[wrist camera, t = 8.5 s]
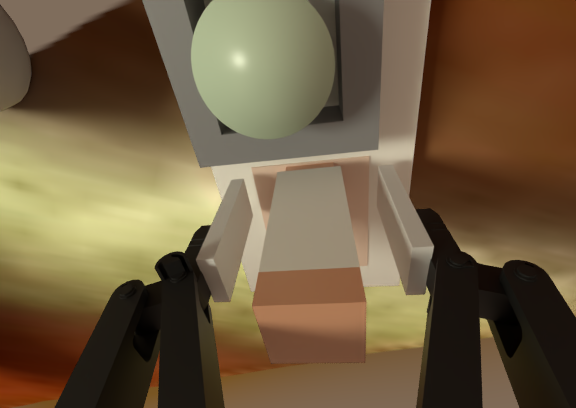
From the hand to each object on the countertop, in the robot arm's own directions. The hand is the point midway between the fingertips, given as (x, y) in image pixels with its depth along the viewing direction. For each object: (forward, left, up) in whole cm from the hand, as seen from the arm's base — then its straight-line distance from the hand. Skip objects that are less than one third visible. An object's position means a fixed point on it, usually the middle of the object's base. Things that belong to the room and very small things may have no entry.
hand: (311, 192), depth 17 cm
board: (0, +1, -2) cm, 2 cm away
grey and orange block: (0, 0, -1) cm, 1 cm away
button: (-1, +8, +1) cm, 8 cm away
